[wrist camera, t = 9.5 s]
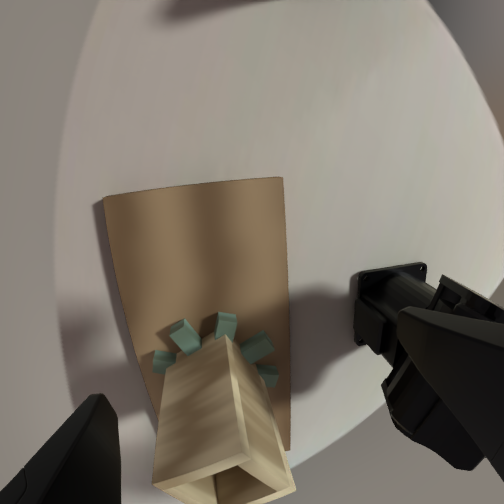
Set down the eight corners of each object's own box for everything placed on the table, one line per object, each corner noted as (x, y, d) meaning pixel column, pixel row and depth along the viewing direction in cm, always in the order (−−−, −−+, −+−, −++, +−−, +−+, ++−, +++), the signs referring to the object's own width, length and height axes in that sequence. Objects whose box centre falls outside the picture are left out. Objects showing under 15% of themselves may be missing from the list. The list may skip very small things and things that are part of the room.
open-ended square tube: (232, 287, 20) (258, 405, 10) (296, 373, 23) (344, 484, 13) (130, 351, 21) (93, 471, 10) (203, 422, 23) (209, 533, 13)
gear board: (278, 176, 20) (282, 177, 19) (287, 441, 27) (290, 450, 26) (108, 195, 19) (102, 197, 18) (176, 454, 26) (175, 462, 25)
